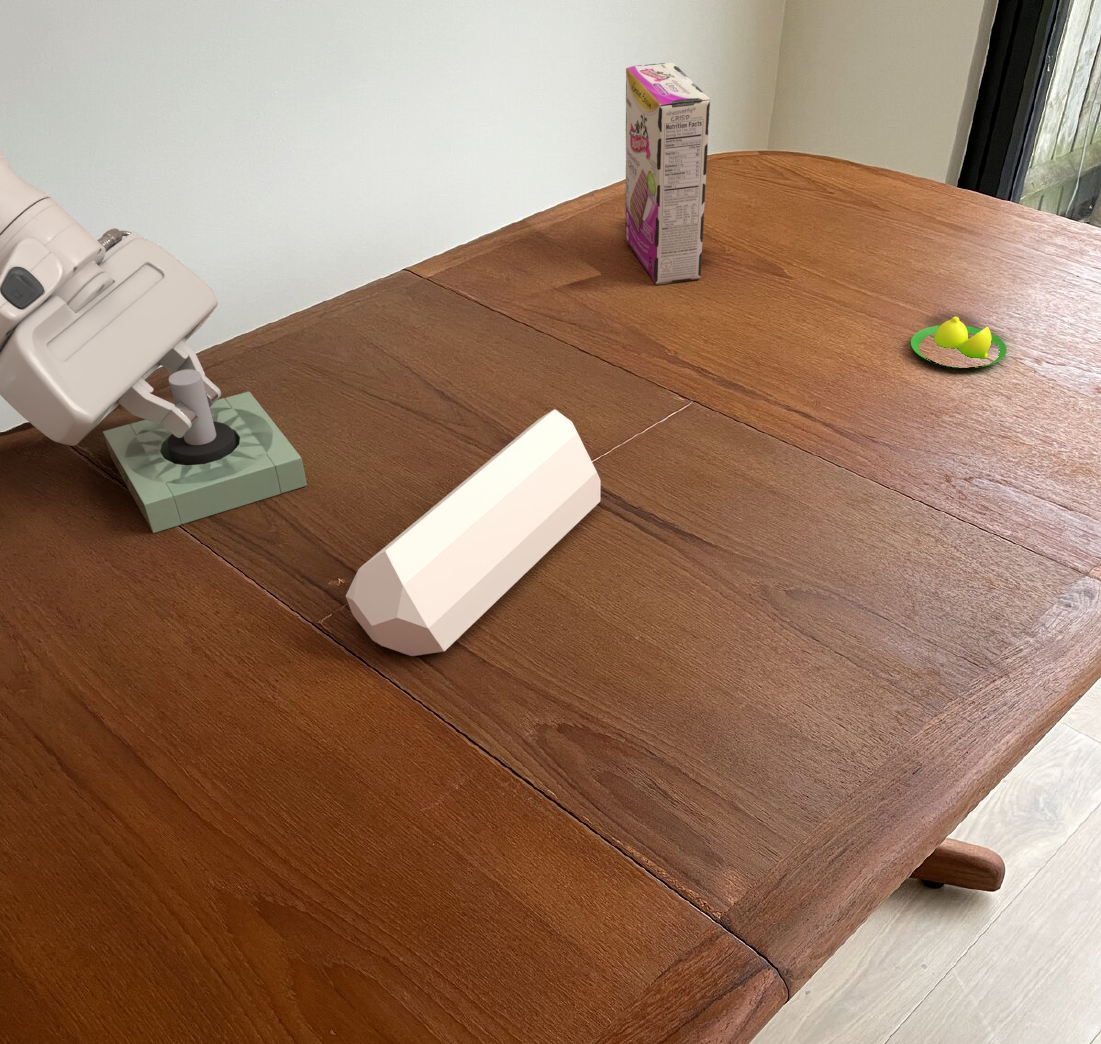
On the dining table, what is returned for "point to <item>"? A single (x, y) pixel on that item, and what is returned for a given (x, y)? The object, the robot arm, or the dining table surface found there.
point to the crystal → (476, 541)
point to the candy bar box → (665, 171)
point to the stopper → (198, 424)
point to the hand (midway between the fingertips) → (201, 416)
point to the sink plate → (205, 466)
